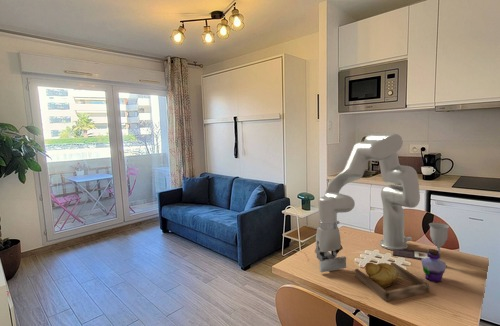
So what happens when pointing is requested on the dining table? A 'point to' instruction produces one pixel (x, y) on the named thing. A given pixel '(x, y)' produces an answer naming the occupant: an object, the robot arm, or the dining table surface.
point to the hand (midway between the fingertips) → (329, 264)
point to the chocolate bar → (410, 254)
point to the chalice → (438, 234)
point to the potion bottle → (433, 266)
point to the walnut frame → (399, 293)
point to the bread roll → (382, 274)
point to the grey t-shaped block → (331, 262)
